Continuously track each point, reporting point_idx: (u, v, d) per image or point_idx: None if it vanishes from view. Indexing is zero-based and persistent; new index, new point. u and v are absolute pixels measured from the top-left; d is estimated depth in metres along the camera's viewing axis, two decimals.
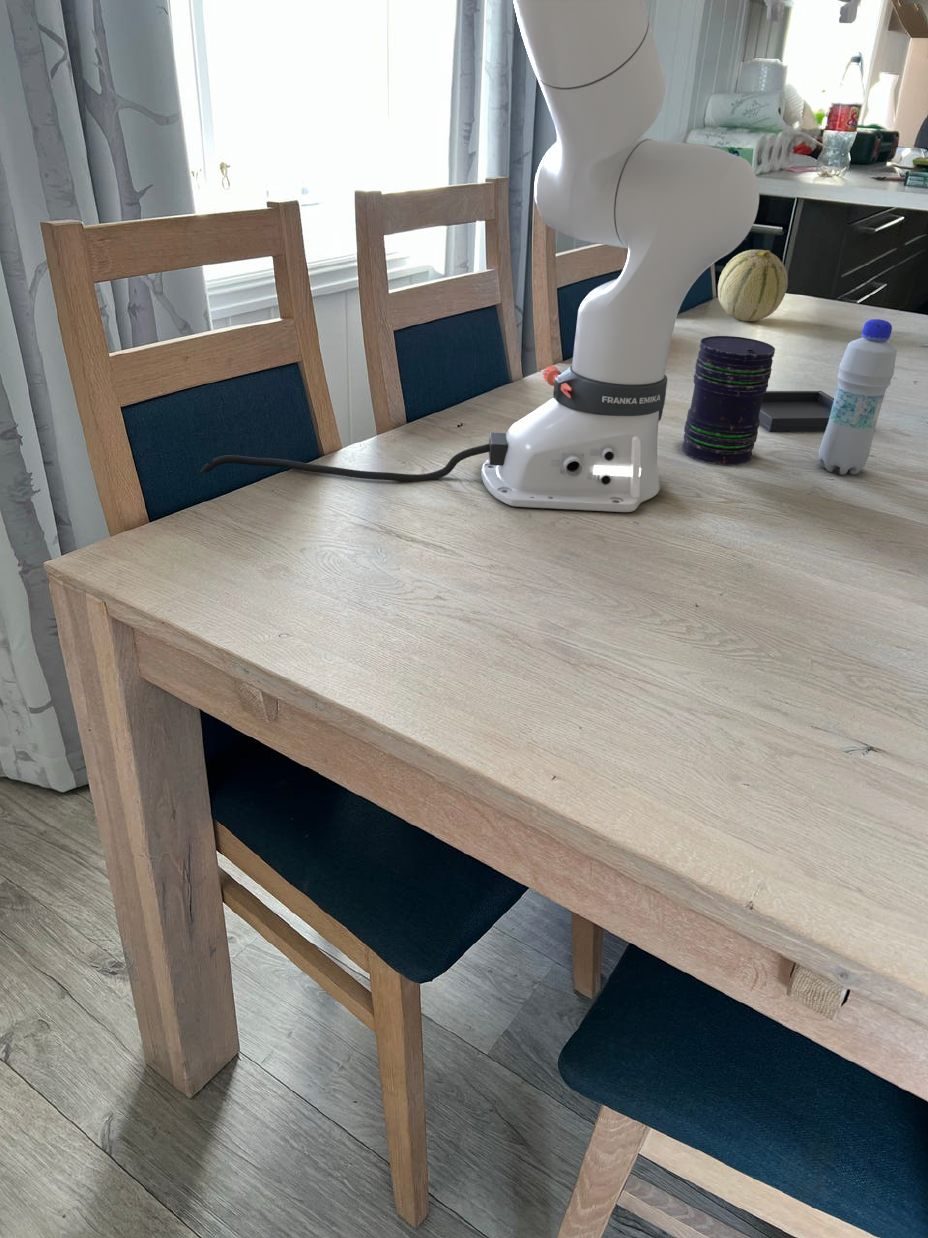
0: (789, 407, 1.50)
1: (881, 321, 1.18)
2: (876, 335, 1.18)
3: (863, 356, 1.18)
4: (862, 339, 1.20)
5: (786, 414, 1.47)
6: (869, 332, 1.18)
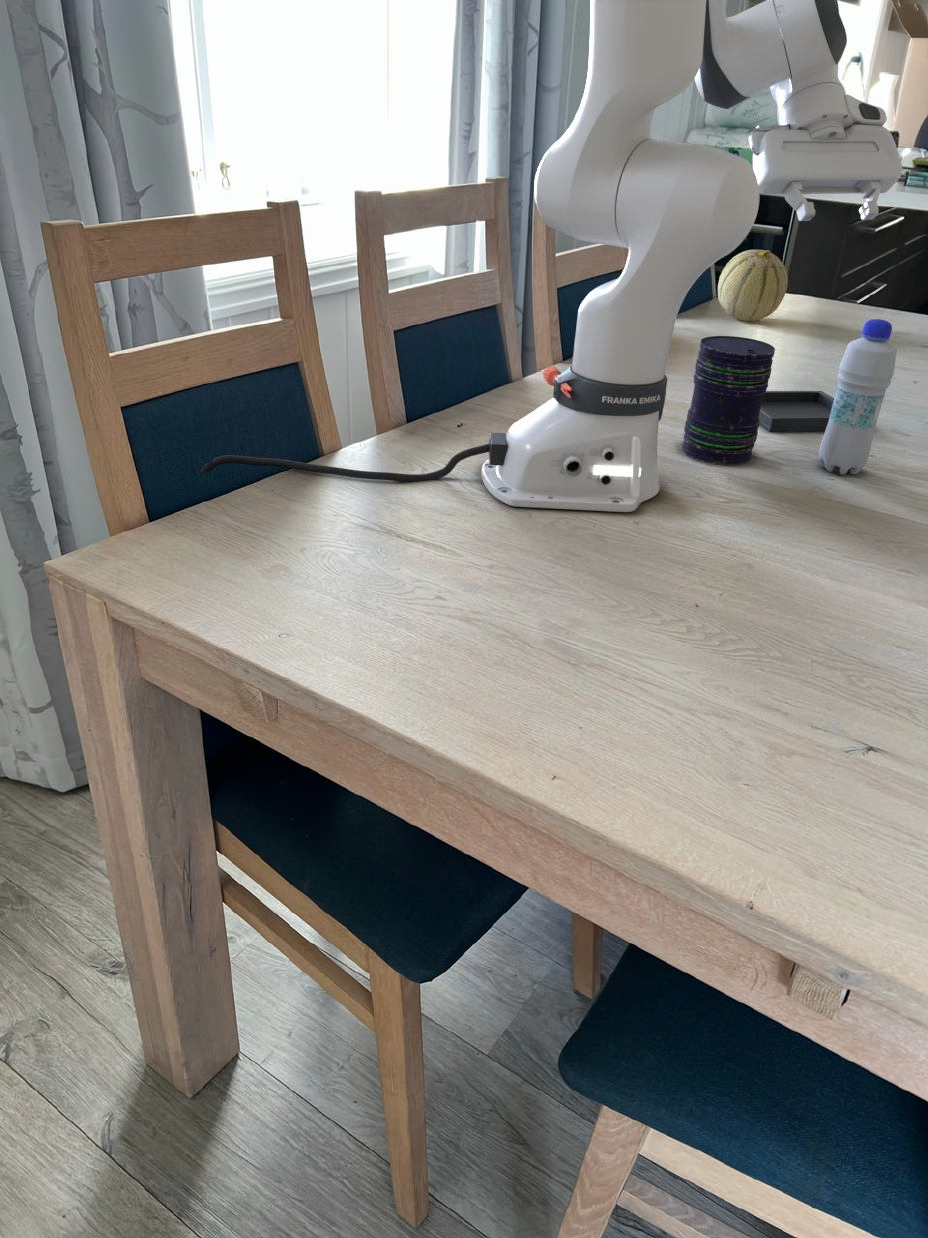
0: (789, 407, 1.50)
1: (881, 321, 1.18)
2: (876, 335, 1.18)
3: (863, 356, 1.18)
4: (862, 339, 1.20)
5: (786, 414, 1.47)
6: (869, 332, 1.18)
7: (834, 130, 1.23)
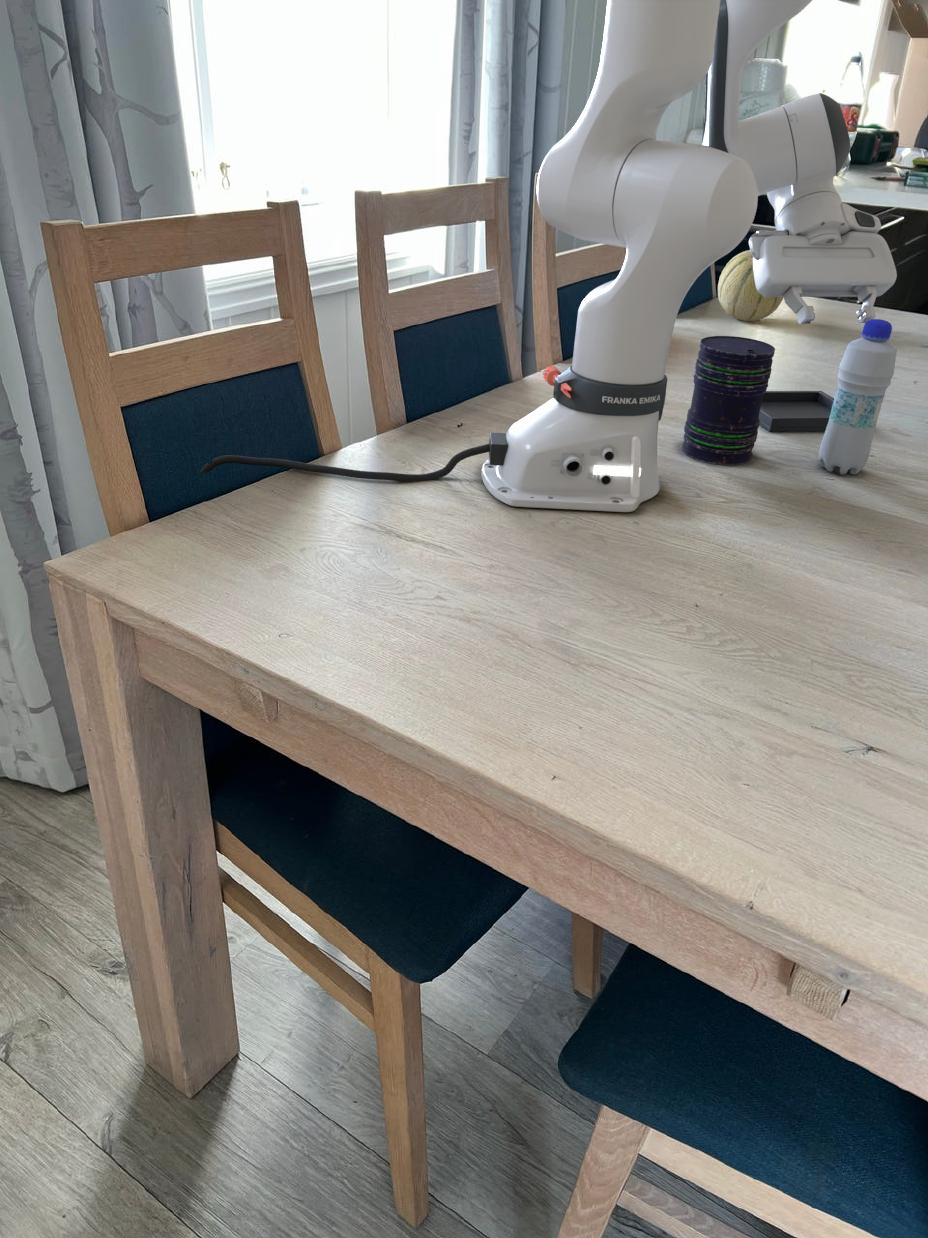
0: (789, 407, 1.50)
1: (881, 321, 1.18)
2: (876, 335, 1.18)
3: (863, 356, 1.18)
4: (862, 339, 1.20)
5: (786, 414, 1.47)
6: (869, 332, 1.18)
7: (832, 237, 1.26)
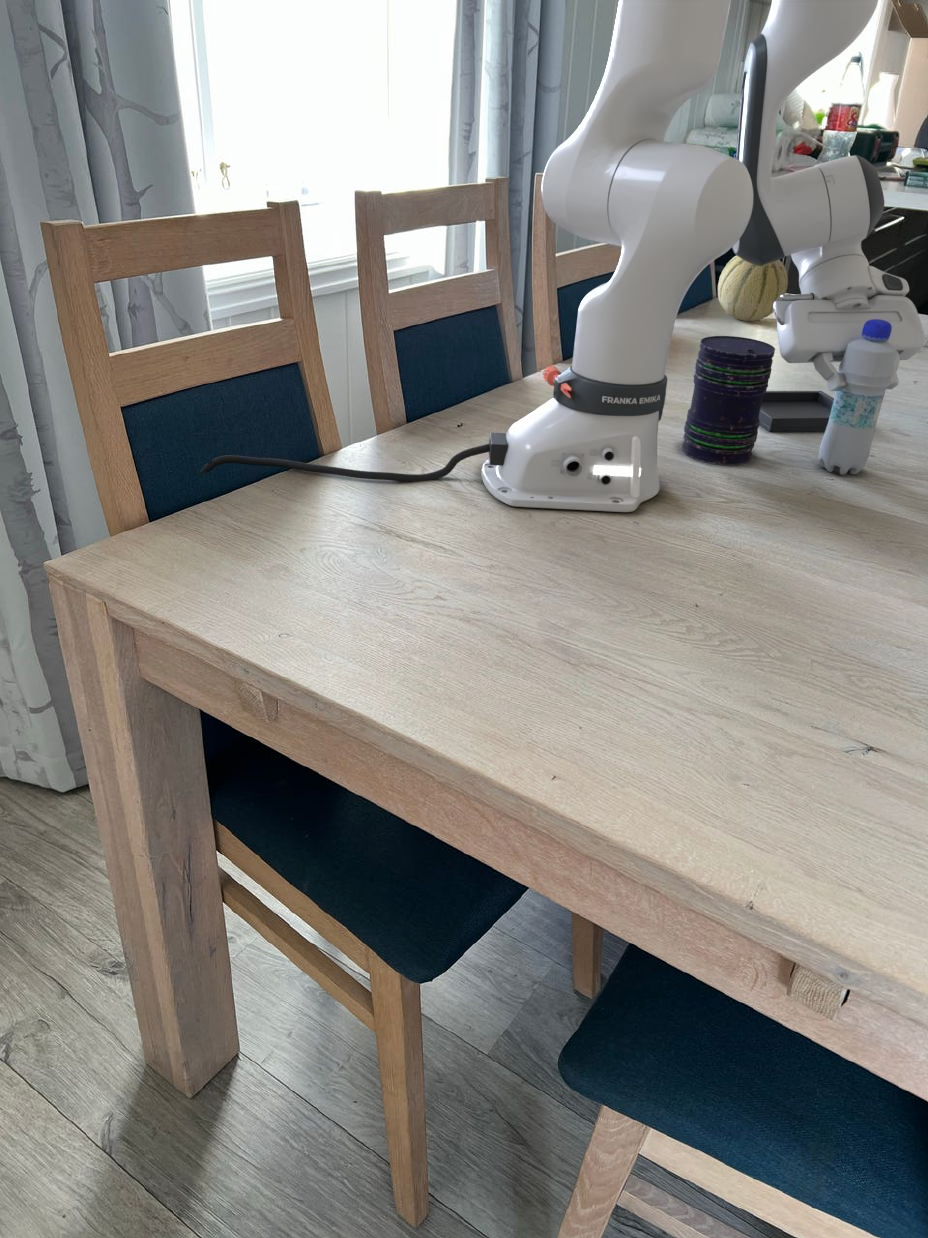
0: (789, 407, 1.50)
1: (881, 321, 1.18)
2: (876, 335, 1.18)
3: (863, 356, 1.18)
4: (862, 339, 1.20)
5: (786, 414, 1.47)
6: (869, 332, 1.18)
7: (859, 302, 1.22)
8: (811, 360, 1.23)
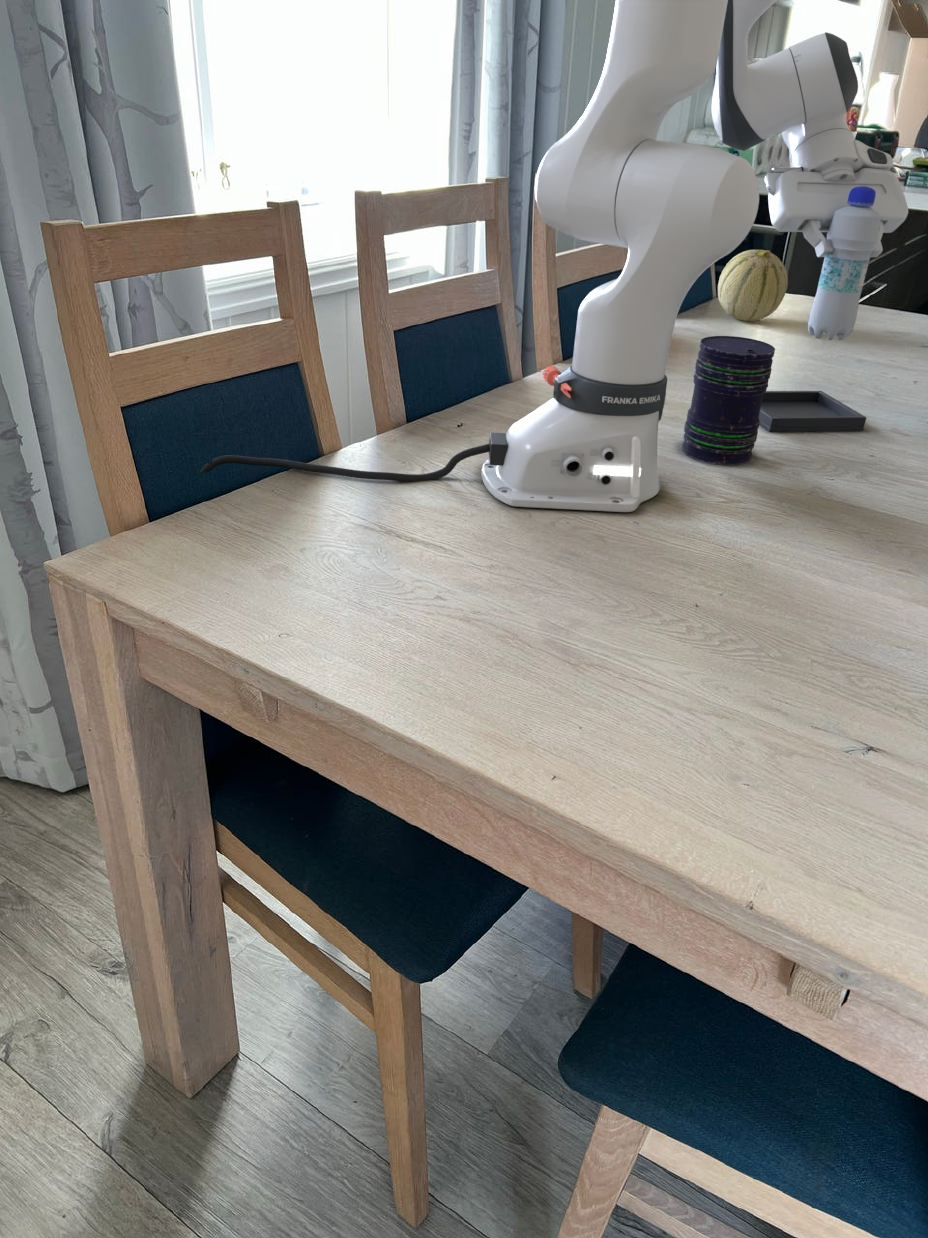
0: (789, 407, 1.50)
1: (865, 187, 1.26)
2: (861, 200, 1.26)
3: (849, 221, 1.26)
4: (848, 206, 1.27)
5: (786, 414, 1.47)
6: (854, 198, 1.26)
7: (845, 173, 1.29)
8: (800, 229, 1.31)
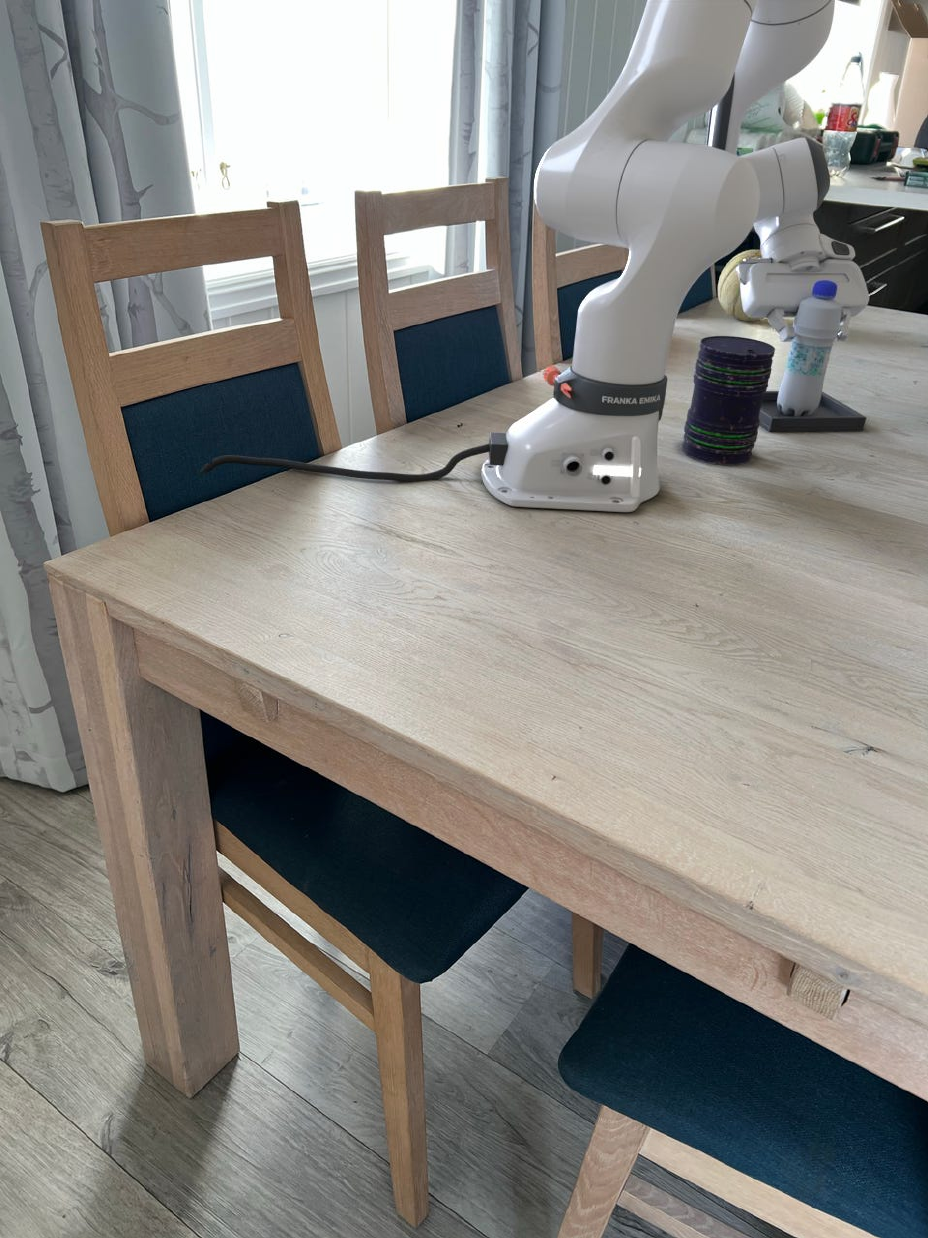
0: None
1: (828, 281, 1.37)
2: (823, 293, 1.37)
3: (813, 312, 1.38)
4: (812, 297, 1.39)
5: None
6: (817, 291, 1.37)
7: (810, 264, 1.41)
8: None
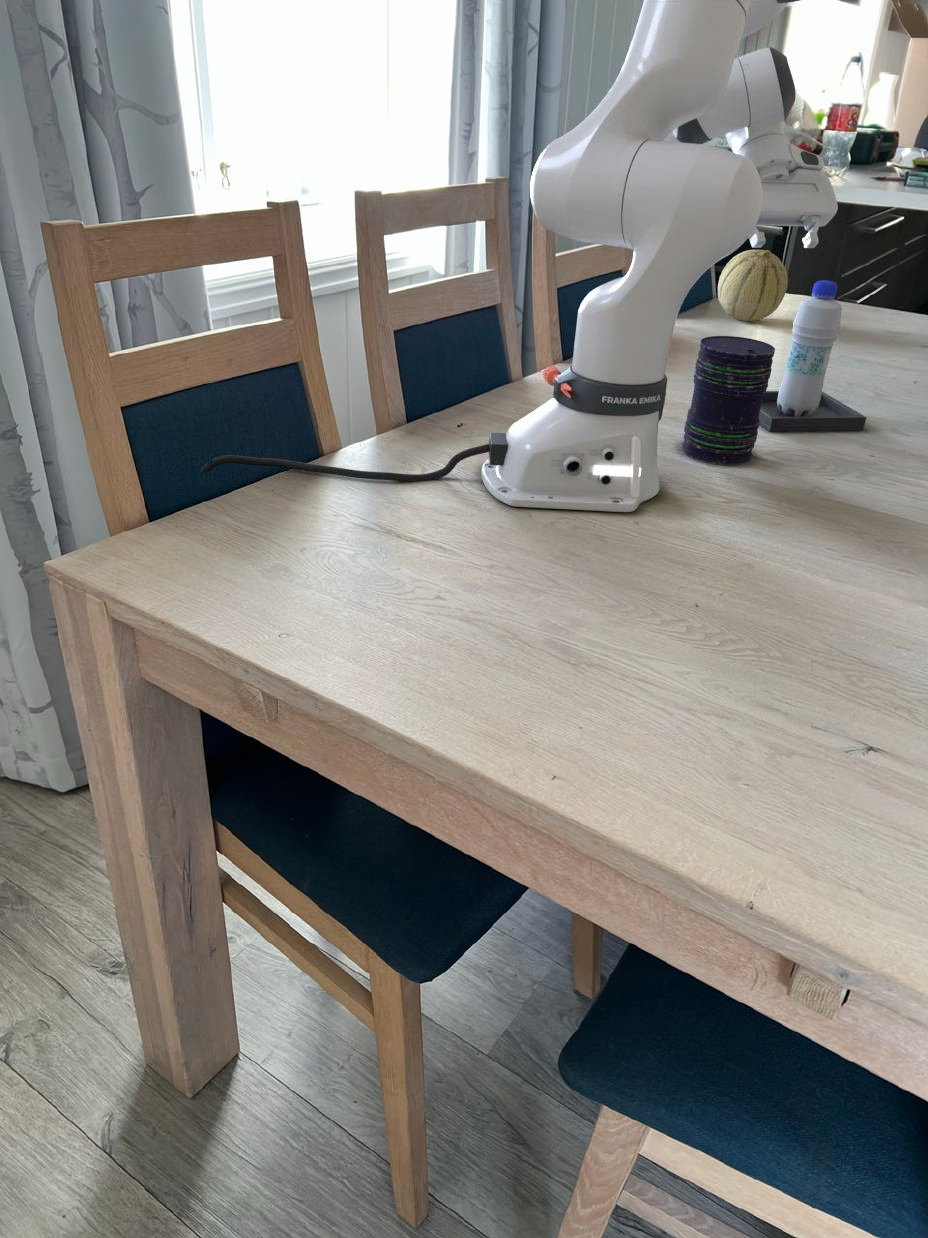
0: None
1: (828, 281, 1.37)
2: (823, 293, 1.37)
3: (813, 312, 1.38)
4: (812, 297, 1.39)
5: None
6: (817, 291, 1.37)
7: (780, 173, 1.46)
8: None
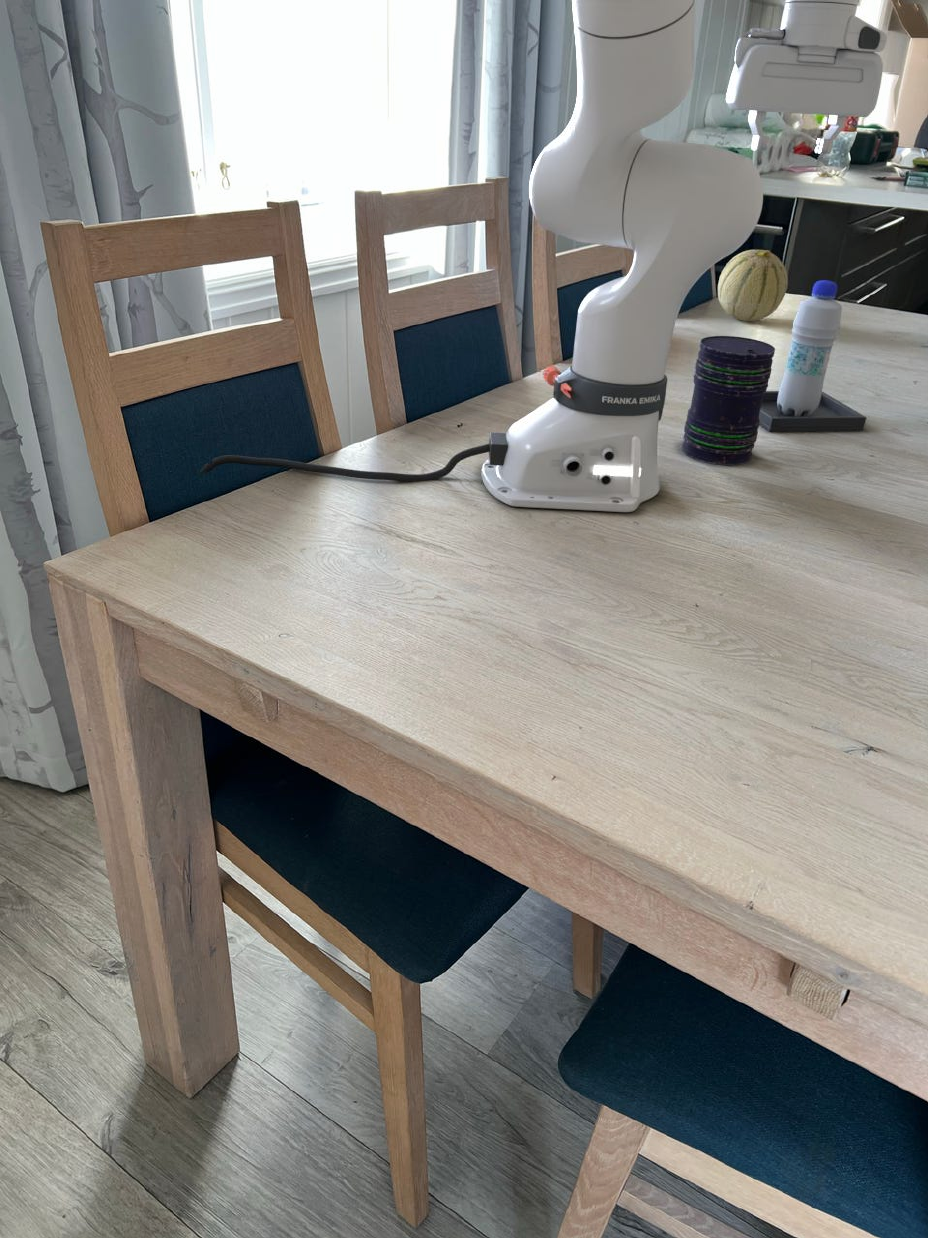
0: None
1: (828, 281, 1.37)
2: (823, 293, 1.37)
3: (813, 312, 1.38)
4: (812, 297, 1.39)
5: None
6: (817, 291, 1.37)
7: (821, 61, 1.20)
8: None
